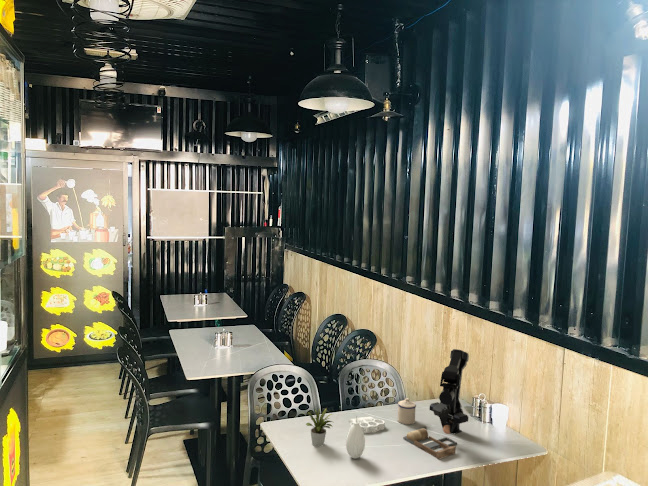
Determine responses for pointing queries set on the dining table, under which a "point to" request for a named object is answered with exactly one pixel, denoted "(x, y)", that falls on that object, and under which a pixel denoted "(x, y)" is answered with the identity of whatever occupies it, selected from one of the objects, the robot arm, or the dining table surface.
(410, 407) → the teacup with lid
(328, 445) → the dining table surface
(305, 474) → the dining table surface
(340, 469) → the dining table surface
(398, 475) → the dining table surface
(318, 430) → the house plant
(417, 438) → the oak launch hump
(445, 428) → the ball
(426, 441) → the runway mat
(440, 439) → the grey square frame
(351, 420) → the white paint palette
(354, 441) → the white vase
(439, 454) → the walnut lane
